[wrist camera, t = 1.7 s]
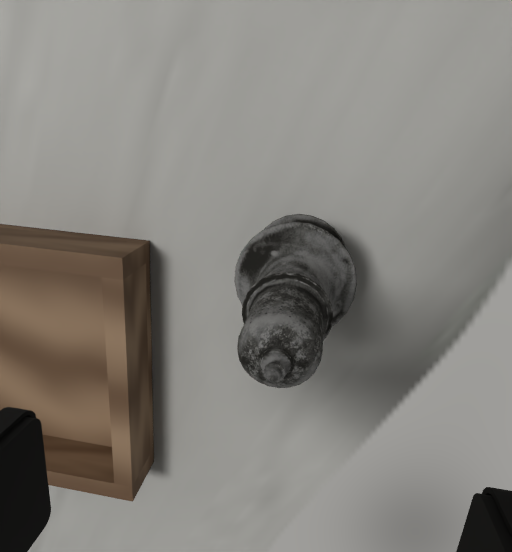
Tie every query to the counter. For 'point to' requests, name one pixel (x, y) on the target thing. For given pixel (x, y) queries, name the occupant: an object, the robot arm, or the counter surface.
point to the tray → (80, 353)
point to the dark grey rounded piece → (291, 297)
